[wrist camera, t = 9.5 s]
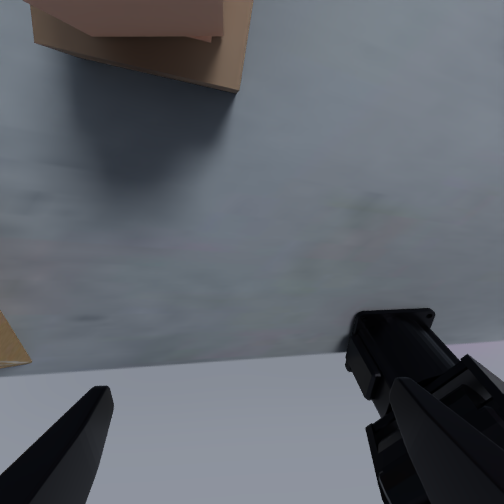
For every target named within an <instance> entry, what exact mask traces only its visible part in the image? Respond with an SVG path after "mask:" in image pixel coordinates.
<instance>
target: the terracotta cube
mask: <svg viewBox="0 0 504 504" xmlns="http://www.w3.org/2000/svg"><path fill="white" fill-rule="evenodd" d="M23 1H25V2H27V3H29V4H31V5H32V6H34V7H36V8H38V9H40V10H42V11H44V12H46V13H48V14H50V15H52V16H53V17H55V18H57V19H59V20H61V21H63V22H65V23H67V24H69V25H71V26H73V27H74V28H76V29H78V30H80V31H82V32H84V33H86V34H88V35H90V36H92V37H166V36H224V31H223V0H23Z"/></svg>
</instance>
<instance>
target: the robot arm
mask: <svg viewBox="0 0 504 504" xmlns="http://www.w3.org/2000/svg"><path fill="white" fill-rule="evenodd" d="M363 317H364V318H363ZM434 317H435V312H434V311H433V310H432V309H430V308H420V309H397V310H374V311H361V312H359V313H358V314H357V315H356V319H355V324H354V328H353V332H352V335H351V336H350V339H349V344H348V348H347V353H346V363H345V367H346V369H347V371H349V372H353V374H354V376H355V378H356V380H357V383H358V385H359V386H360V389H361V391H362V393H363V395H364V397H365V398H366V399H367V400H372V401H373V403H374V405H375V407H376V409H377V410H378V413H379V415H380V417H381V419H379V420H378V421H376V422H375V423H374V424H372V423H371V424H370V425H368V426H367V427H366V433H367V437H368V442H369V446H370V451H371V455H372V459H373V464H374V468H375V472H376V477H377V481H378V485H379V489H380V493H381V497H382V500H383V502H384V504H504V382H503V381H502V380H501V379H499V378H498V377H497V376H495V375H494V374H493V373H491V372H490V371H489V370H488V369H486V368H485V367H484V366H482V365H481V364H480V363H478V362H477V361H476V360H474V359H473V358H472V357H471V356H469V355H468V354H467V355H465V356H464V357H463V358H461V361H460V360H459V359H458V358H457V357H456V356H455V355H454V354H453V353H452V352H451V351H450V350H449V348H447V346H446V345H445V344H444V343H443V342H442V341H441V340H440V339H439V338H438V337H437V336H436V335H435V333H434V332H433V331H432V330H431V329H430V328H431V325H432V322H433V320H434ZM113 408H114V403H113V399H112V395H111V391H110V388H109V387H108V386H95V387H93V388H91V389H90V390H89V391H88V392H87V393H86V394H85V395H84V396H83V397H82V398H81V399H80V400H79V401H78V402H77V403H76V404H75V405H73V406H72V407H71V408H70V409H69V410H68V411H67V412H66V413H65V414H64V415H63V416H62V417H61V418H60V419H59V420H58V421H57V422H56V423H55V424H53V425H52V427H50V428H49V429H48V430H47V431H46V432H45V433H44V434H43V435H42V436H41V437H40V438H39V439H38V440H37V441H36V442H35V443H34V444H33V445H32V446H30V447H29V448H28V449H27V450H26V451H25V452H24V453H23V454H22V455H21V456H20V457H19V458H18V459H17V460H16V461H15V462H14V463H13V464H12V465H11V466H9V467H8V468H7V469H6V470H5V471H4V472H3V473H2V474H1V475H0V504H85V503H86V500H87V497H88V495H89V492H90V489H91V487H92V484H93V481H94V479H95V475H96V473H97V470H98V467H99V463H100V459H101V455H102V452H103V448H104V444H105V441H106V437H107V433H108V429H109V425H110V421H111V418H112V414H113Z"/></svg>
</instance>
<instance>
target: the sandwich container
mask: <svg viewBox="0 0 504 504" xmlns="http://www.w3.org/2000/svg"><path fill="white" fill-rule="evenodd" d="M31 362H32V361H31V359H30V357H29V356H28V354H27V352H26V351H25V349H24V348H23V346H22V344H21V343H20V341H19V339H18V338H17V336H16V335H15V333H14V331H13V330H12V328H11V326H10V325H9V323H8V322H7V320H6V318H5V317H4V315H3V314H2V312H1V310H0V368H6V367H12V366H17V365H23V364H29V363H31Z"/></svg>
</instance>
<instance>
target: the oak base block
mask: <svg viewBox="0 0 504 504" xmlns="http://www.w3.org/2000/svg"><path fill="white" fill-rule="evenodd" d="M252 6H253V0H223V31H224V36H166V37H92V36H90V35H88V34H86V33H84V32H82V31H80V30H78V29H76V28H74V27H73V26H71V25H69V24H67V23H65V22H63V21H61V20H59V19H57V18H55V17H53V16H52V15H50V14H48V13H46V12H44V11H42V10H40V9H38V8H36V7H34V6H32V5H31V4H30V7H31V16H32V25H33V34H34V43H37V44H40V45H43V46H46V47H49V48H52V49H55V50H58V51H61V52H64V53H67V54H70V55H72V56H75V57H79V58H83V59H87V60H92V61H96V62H100V63H105V64H109V65H113V66H118V67H122V68H126V69H131V70H135V71H139V72H144V73H148V74H153V75H157V76H161V77H166V78H170V79H174V80H179V81H183V82H187V83H192V84H196V85H200V86H205V87H209V88H213V89H218V90H222V91H226V92H231V93H235V94H237V92H238V91H239V89H240V83H241V76H242V70H243V64H244V57H245V51H246V44H247V38H248V31H249V25H250V19H251V12H252Z"/></svg>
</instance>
